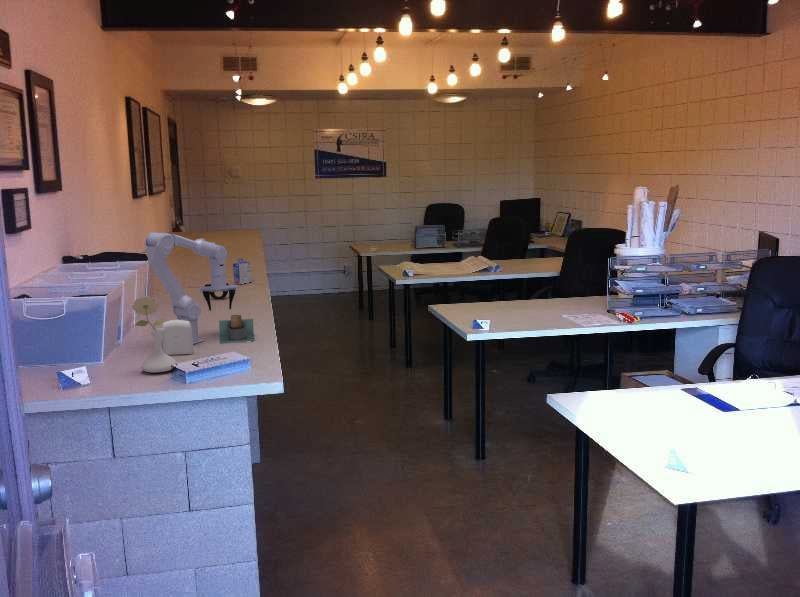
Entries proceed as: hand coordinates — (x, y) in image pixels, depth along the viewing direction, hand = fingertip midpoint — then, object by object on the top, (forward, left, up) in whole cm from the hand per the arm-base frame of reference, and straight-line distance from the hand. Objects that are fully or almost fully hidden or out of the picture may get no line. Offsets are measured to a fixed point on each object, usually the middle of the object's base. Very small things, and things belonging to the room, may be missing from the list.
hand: (220, 309), depth 288 cm
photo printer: (-29, -8, -11) cm, 32 cm away
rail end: (-3, -11, -9) cm, 15 cm away
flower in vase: (-48, -19, -11) cm, 53 cm away
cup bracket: (-3, -11, -10) cm, 16 cm away
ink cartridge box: (+103, +86, -11) cm, 135 cm away
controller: (+58, +61, -11) cm, 85 cm away
